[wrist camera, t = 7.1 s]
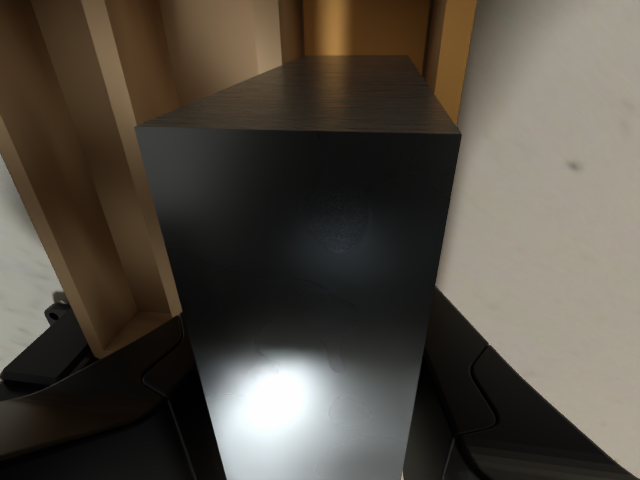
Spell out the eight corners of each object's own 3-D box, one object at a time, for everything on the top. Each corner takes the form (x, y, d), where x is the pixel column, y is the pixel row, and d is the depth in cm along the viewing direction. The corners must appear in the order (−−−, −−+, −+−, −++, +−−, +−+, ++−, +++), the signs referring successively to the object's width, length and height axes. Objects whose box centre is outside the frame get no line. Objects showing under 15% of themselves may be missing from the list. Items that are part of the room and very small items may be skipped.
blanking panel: (380, 341, 13) (377, 612, 7) (313, 334, 13) (255, 587, 7) (407, 54, 8) (463, 134, 2) (304, 55, 9) (133, 125, 3)
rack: (406, 338, 17) (410, 398, 14) (135, 312, 18) (93, 360, 16) (462, -59, 10) (492, -90, 7) (13, -38, 11) (-100, -55, 9)
